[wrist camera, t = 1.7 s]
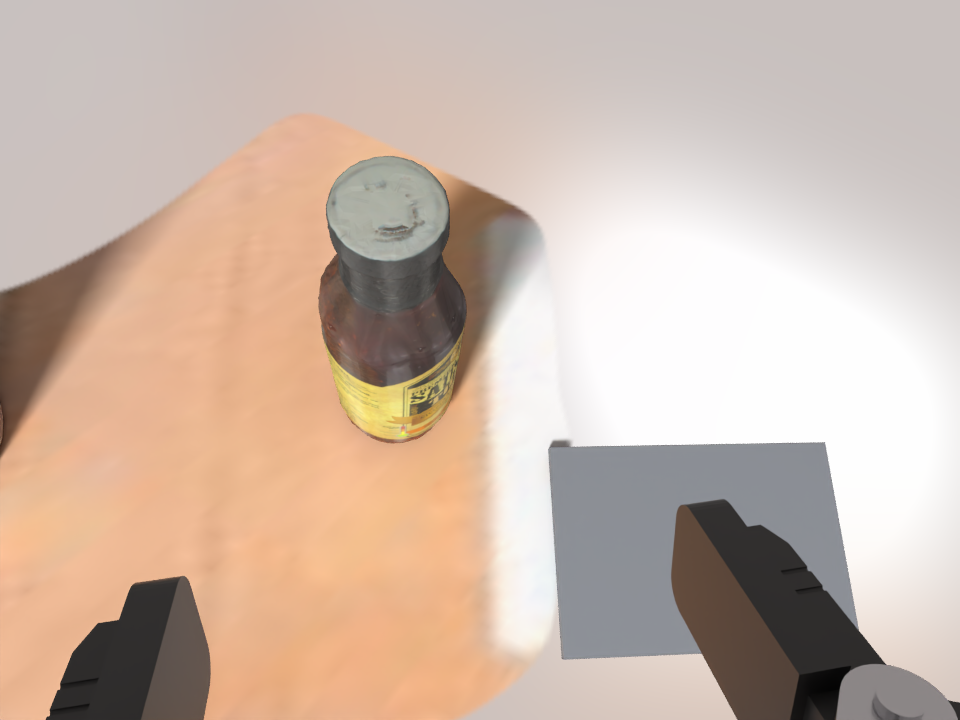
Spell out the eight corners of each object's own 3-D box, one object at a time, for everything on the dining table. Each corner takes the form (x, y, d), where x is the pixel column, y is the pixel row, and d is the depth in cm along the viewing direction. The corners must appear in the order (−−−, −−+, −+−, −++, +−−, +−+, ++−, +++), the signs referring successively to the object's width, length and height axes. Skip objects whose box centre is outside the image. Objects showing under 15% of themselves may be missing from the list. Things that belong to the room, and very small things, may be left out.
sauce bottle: (429, 462, 42) (442, 341, 23) (323, 425, 42) (250, 274, 23) (467, 357, 44) (508, 167, 25) (366, 322, 44) (332, 107, 25)
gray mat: (561, 658, 39) (564, 659, 39) (548, 449, 43) (550, 447, 42) (855, 646, 41) (861, 646, 40) (819, 444, 44) (825, 442, 43)
